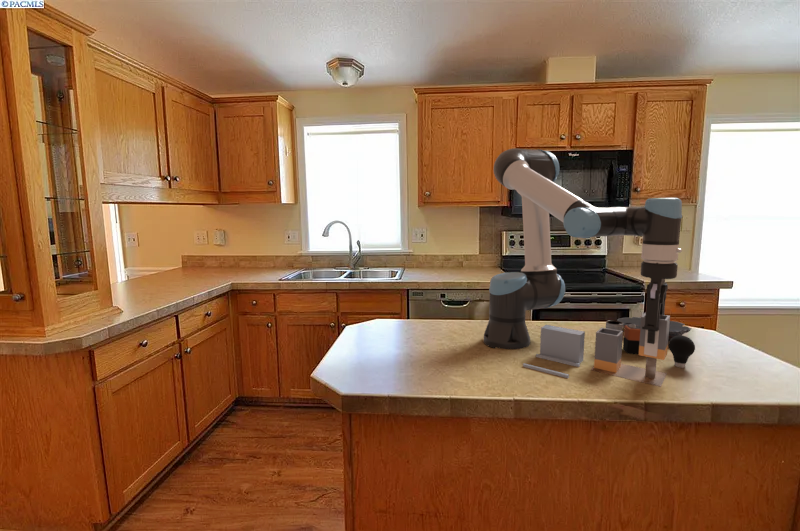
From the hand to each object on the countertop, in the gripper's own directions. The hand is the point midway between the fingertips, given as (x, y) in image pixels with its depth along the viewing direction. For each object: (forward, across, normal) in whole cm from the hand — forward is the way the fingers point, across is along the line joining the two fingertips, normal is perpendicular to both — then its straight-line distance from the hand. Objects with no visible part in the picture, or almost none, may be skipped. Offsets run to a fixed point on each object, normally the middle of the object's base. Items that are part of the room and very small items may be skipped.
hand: (652, 351), depth 100 cm
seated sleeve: (+7, 0, +10) cm, 12 cm away
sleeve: (+1, 0, 0) cm, 1 cm away
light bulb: (+9, +13, -5) cm, 16 cm away
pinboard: (+8, 0, +5) cm, 10 cm away
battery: (+9, +18, +6) cm, 21 cm away
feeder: (+8, -6, +22) cm, 24 cm away
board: (+9, +44, +6) cm, 45 cm away
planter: (+8, +15, +12) cm, 21 cm away
